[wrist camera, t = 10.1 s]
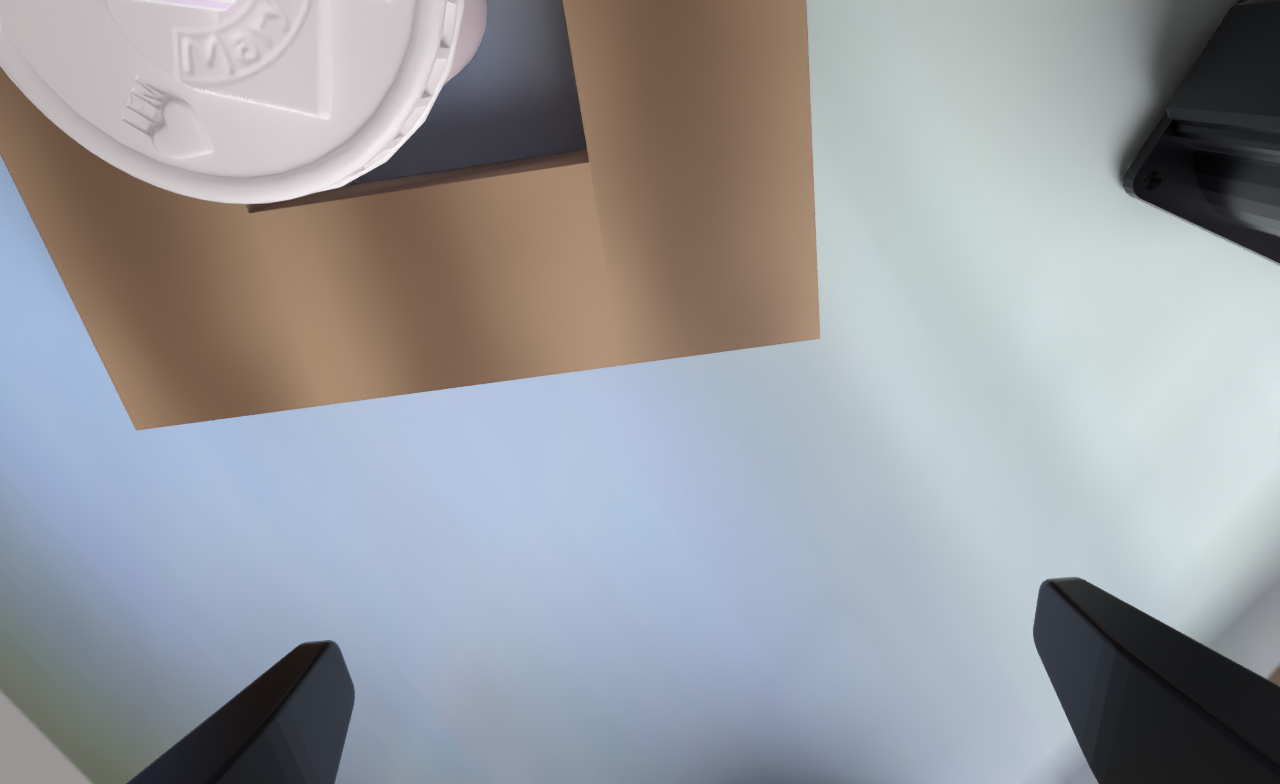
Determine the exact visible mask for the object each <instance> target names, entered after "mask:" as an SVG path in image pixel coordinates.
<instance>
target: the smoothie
mask: <svg viewBox="0 0 1280 784" xmlns="http://www.w3.org/2000/svg"><path fill="white" fill-rule="evenodd" d="M486 23H487V0H0V66H1V68H2V69H3V70H4V71H5V73H6V74H7V75H8V77H9V78H10V79H11V80H12V81H13V82H14V83H15V85H16V86H17V87H18V88H19V89H20V90H21V91H22V92H23V94H24V95H25V96H26V97H27V98H28V99H29V100H30V101H31V102H32V103H33V104H34V105H35V106H36V107H37V108H38V109H39V110H40V111H41V112H42V113H43V114H44V115H45V116H46V117H47V118H48V119H50V120H51V121H52V122H53V123H54V124H56V125H57V126H58V127H59V128H60V129H61V130H63V131H64V132H65V133H66V134H67V135H68V136H70V137H71V138H72V139H74V140H75V141H77V142H78V143H79V144H81V145H82V146H83V147H85V148H86V149H87V150H89V151H90V152H92V153H93V154H95V155H97V156H98V157H100V158H101V159H103V160H105V161H106V162H108V163H109V164H111V165H113V166H114V167H116V168H118V169H120V170H122V171H124V172H126V173H128V174H130V175H132V176H134V177H136V178H138V179H140V180H143V181H145V182H147V183H150V184H152V185H154V186H157V187H159V188H162V189H165V190H168V191H171V192H174V193H177V194H180V195H185V196H189V197H193V198H197V199H202V200H207V201H214V202H221V203H234V204H260V203H272V202H279V201H285V200H291V199H295V198H298V197H302V196H306V195H309V194H312V193H316V192H321V191H326V190H330V189H335V188H340V187H342V186H344V185H346V184H347V183H349V182H351V181H353V180H355V179H356V178H358V177H360V176H362V175H364V174H365V173H367V172H369V171H371V170H373V169H374V168H376V167H378V166H380V165H382V164H383V163H385V162H387V161H388V160H389V159H390V158H391V157H392V156H393V155H394V154H395V152H396V151H397V150H398V149H399V148H400V147H401V146H402V145H403V144H404V143H405V142H406V141H407V140H408V139H409V138H410V137H411V136H412V135H413V134H414V132H415V131H416V130H417V129H418V128H419V127H420V126H421V125H422V124H423V123H424V122H425V120H426V118H427V116H428V114H429V112H430V110H431V108H432V106H433V104H434V103H435V101H436V99H437V97H438V95H439V93H440V91H441V89H442V87H443V85H445V84H446V83H447V82H448V81H449V80H451V79H452V78H453V77H454V76H455V75H457V74H458V73H459V72H460V71H461V70H463V69H464V68H465V67H466V66H467V65H468V64H469V62H470V61H471V60H472V59H473V57H474V56H475V54H476V52H477V51H478V49H479V47H480V45H481V42H482V39H483V37H484V33H485V29H486Z"/></svg>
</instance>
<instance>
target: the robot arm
mask: <svg viewBox="0 0 1280 784" xmlns="http://www.w3.org/2000/svg"><path fill="white" fill-rule="evenodd" d="M1151 171H1152V175H1153V177H1152V180H1151V182H1150V183H1149V184H1148V185H1147V186H1146V187H1143V184H1142V181H1143V179H1144V177H1145V176H1146V175H1147V174H1148V173H1149V172H1151ZM1123 186H1124V189H1125V191H1126V193H1128V194H1129V195H1130V196H1132V197H1134V198H1136V199H1138V200H1140V201H1142V202H1145V203H1147V204H1149V205H1151V206H1153V207H1155V208H1157V209H1160V210H1162V211H1164V212H1166V213H1168V214H1170V215H1173V216H1175V217H1177V218H1179V219H1181V220H1183V221H1185V222H1188V223H1190V224H1192V225H1194V226H1196V227H1198V228H1201V229H1203V230H1205V231H1207V232H1209V233H1211V234H1213V235H1216V236H1218V237H1220V238H1222V239H1224V240H1226V241H1229V242H1231V243H1233V244H1235V245H1237V246H1239V247H1241V248H1244V249H1246V250H1248V251H1250V252H1252V253H1254V254H1257V255H1259V256H1261V257H1263V258H1265V259H1267V260H1270V261H1272V262H1274V263H1276V264H1278V265H1280V0H1240V1H1239V2H1238V4H1237V5H1235V6H1233V7H1232V8H1231V9H1230V11H1229V12H1228V14H1227V15H1226V17H1225V18H1224V20H1223V21H1222V23H1221V24H1220V26H1219V27H1218V29H1217V30H1216V32H1215V34H1214V35H1213V37H1212V38H1211V40H1210V41H1209V43H1208V44H1207V46H1206V47H1205V49H1204V50H1203V52H1202V53H1201V55H1200V56H1199V58H1198V59H1197V61H1196V62H1195V64H1194V66H1193V67H1192V69H1191V70H1190V72H1189V73H1188V75H1187V76H1186V78H1185V79H1184V81H1183V82H1182V84H1181V85H1180V87H1179V88H1178V90H1177V91H1176V93H1175V94H1174V96H1173V97H1172V99H1171V101H1170V102H1169V104H1168V109H1167V112H1166V113H1165V115H1164V116H1163V118H1162V119H1161V121H1160V122H1159V124H1158V125H1157V127H1156V128H1155V130H1154V131H1153V133H1152V134H1151V136H1150V137H1149V139H1148V140H1147V142H1146V143H1145V145H1144V146H1143V148H1142V149H1141V151H1140V153H1139V154H1138V156H1137V157H1136V159H1135V160H1134V162H1133V163H1132V165H1131V166H1130V168H1129V169H1128V171H1127V173H1126V175H1125V177H1124V185H1123ZM1033 637H1034V642H1035V646H1036V649H1037V651H1038V654H1039V656H1040V658H1041V660H1042V663H1043V665H1044V667H1045V669H1046V671H1047V674H1048V676H1049V678H1050V680H1051V683H1052V685H1053V687H1054V689H1055V692H1056V694H1057V696H1058V698H1059V701H1060V703H1061V705H1062V707H1063V710H1064V712H1065V714H1066V716H1067V718H1068V721H1069V723H1070V725H1071V727H1072V730H1073V732H1074V734H1075V736H1076V739H1077V741H1078V743H1079V745H1080V748H1081V750H1082V752H1083V754H1084V756H1085V758H1086V760H1087V762H1088V764H1089V766H1090V768H1091V770H1092V772H1093V774H1094V776H1095V778H1096V779H1097V781H1098V783H1099V784H1280V686H1278V685H1277V684H1275V683H1273V682H1271V681H1269V680H1267V679H1266V678H1264V677H1262V676H1260V675H1258V674H1256V673H1254V672H1253V671H1251V670H1249V669H1247V668H1245V667H1243V666H1242V665H1240V664H1238V663H1236V662H1234V661H1232V660H1231V659H1229V658H1227V657H1225V656H1223V655H1221V654H1220V653H1218V652H1216V651H1214V650H1212V649H1210V648H1209V647H1207V646H1205V645H1203V644H1201V643H1199V642H1198V641H1196V640H1194V639H1192V638H1190V637H1188V636H1187V635H1185V634H1183V633H1181V632H1179V631H1177V630H1176V629H1174V628H1172V627H1170V626H1168V625H1166V624H1164V623H1163V622H1161V621H1159V620H1157V619H1155V618H1153V617H1152V616H1150V615H1148V614H1146V613H1144V612H1142V611H1141V610H1139V609H1137V608H1135V607H1133V606H1131V605H1130V604H1128V603H1126V602H1124V601H1122V600H1120V599H1119V598H1117V597H1115V596H1113V595H1111V594H1109V593H1108V592H1106V591H1104V590H1102V589H1100V588H1098V587H1097V586H1095V585H1093V584H1091V583H1089V582H1087V581H1085V580H1083V579H1081V578H1078V577H1066V578H1054V579H1047V580H1045V581H1043V582H1042V584H1041V585H1040V589H1039V594H1038V600H1037V607H1036V613H1035V620H1034V626H1033ZM354 699H355V691H354V685H353V682H352V679H351V677H350V674H349V671H348V669H347V666H346V663H345V661H344V658H343V655H342V653H341V650H340V648H339V646H338V645H337V644H336V642H334V641H331V640H325V641H313V642H306V643H302V644H300V645H299V646H297V647H296V648H295V649H293V650H292V651H291V652H290V653H288V654H287V655H286V656H285V657H283V658H282V659H281V660H280V661H278V662H277V663H276V664H275V665H273V666H272V667H271V668H270V669H268V670H267V671H266V672H265V673H264V674H262V675H261V676H260V677H259V678H257V679H256V680H255V681H254V682H252V683H251V684H250V685H249V686H247V687H246V688H245V689H244V690H242V691H241V692H240V693H239V694H237V695H236V696H235V697H234V698H232V699H231V700H230V701H229V702H227V703H226V704H225V705H224V706H222V707H221V708H220V709H219V710H217V711H216V712H215V713H214V714H212V715H211V716H210V717H209V718H207V719H206V720H205V721H204V722H202V723H201V724H200V725H199V726H197V727H196V728H195V729H194V730H193V731H191V732H190V733H189V734H188V735H186V736H185V737H184V738H183V739H181V740H180V741H179V742H178V743H176V744H175V745H174V746H173V747H171V748H170V749H169V750H168V751H166V752H165V753H164V754H163V755H161V756H160V757H159V758H158V759H156V760H155V761H154V762H153V763H151V764H150V765H149V766H148V767H146V768H145V769H144V770H143V771H141V772H140V773H139V774H138V775H136V776H135V777H134V778H133V779H131V780H130V781H129V782H128V783H126V784H335V780H336V776H337V772H338V768H339V764H340V760H341V756H342V751H343V747H344V743H345V739H346V735H347V731H348V727H349V723H350V719H351V715H352V710H353V706H354Z"/></svg>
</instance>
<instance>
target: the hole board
mask: <svg viewBox="0 0 1280 784" xmlns="http://www.w3.org/2000/svg"><path fill="white" fill-rule="evenodd" d="M562 1H563V7H564V13H565V19H566V25H567V31H568V37H569V43H570V49H571V55H572V61H573V67H574V73H575V79H576V85H577V91H578V97H579V103H580V109H581V115H582V121H583V128H584V134H585V140H586V146H587V149H585V150H578V151H571V152H565V153H558V154H551V155H545V156H538V157H532V158H525V159H518V160H512V161H505V162H499V163H492V164H485V165H479V166H472V167H465V168H459V169H452V170H446V171H439V172H432V173H426V174H419V175H412V176H406V177H399V178H393V179H386V180H379V181H373V182H366V183H359V184H353V185H346V186H342V187H340V188H335V189H330V190H326V191H321V192H316V193H312V194H309V195H306V196H302V197H298V198H295V199H291V200H285V201H279V202H272V203H260V204H234V203H221V202H214V201H207V200H202V199H197V198H193V197H189V196H185V195H180V194H177V193H174V192H171V191H168V190H165V189H162V188H159V187H157V186H154V185H152V184H150V183H147V182H145V181H143V180H140V179H138V178H136V177H134V176H132V175H130V174H128V173H126V172H124V171H122V170H120V169H118V168H116V167H114V166H113V165H111V164H109V163H108V162H106V161H105V160H103V159H101V158H100V157H98V156H97V155H95V154H93V153H92V152H90V151H89V150H87V149H86V148H85V147H83V146H82V145H81V144H79V143H78V142H77V141H75V140H74V139H72V138H71V137H70V136H68V135H67V134H66V133H65V132H64V131H63V130H61V129H60V128H59V127H58V126H57V125H56V124H54V123H53V122H52V121H51V120H50V119H48V118H47V117H46V116H45V115H44V114H43V113H42V112H41V111H40V110H39V109H38V108H37V107H36V106H35V105H34V104H33V103H32V102H31V101H30V100H29V99H28V98H27V97H26V96H25V95H24V94H23V92H22V91H21V90H20V89H19V88H18V87H17V86H16V85H15V83H14V82H13V81H12V80H11V79H10V78H9V77H8V75H7V74H6V73H5V71H4V70H3V69H2V68H1V66H0V154H1V156H2V158H3V161H4V163H5V165H6V167H7V169H8V171H9V173H10V175H11V177H12V179H13V181H14V183H15V185H16V187H17V189H18V191H19V193H20V195H21V197H22V199H23V201H24V203H25V205H26V207H27V209H28V211H29V213H30V215H31V218H32V220H33V222H34V224H35V226H36V228H37V230H38V232H39V234H40V236H41V238H42V240H43V242H44V244H45V246H46V248H47V250H48V252H49V254H50V256H51V258H52V260H53V262H54V264H55V266H56V268H57V270H58V272H59V274H60V277H61V279H62V281H63V283H64V285H65V287H66V289H67V291H68V293H69V295H70V297H71V299H72V301H73V303H74V305H75V307H76V309H77V311H78V313H79V315H80V317H81V319H82V321H83V323H84V325H85V327H86V329H87V331H88V334H89V336H90V338H91V340H92V342H93V344H94V346H95V348H96V350H97V352H98V354H99V356H100V358H101V360H102V362H103V364H104V366H105V368H106V370H107V372H108V374H109V376H110V378H111V380H112V382H113V384H114V386H115V388H116V390H117V393H118V395H119V397H120V399H121V401H122V403H123V405H124V407H125V409H126V411H127V413H128V415H129V417H130V419H131V421H132V423H133V425H134V427H135V429H136V430H143V429H150V428H158V427H165V426H173V425H180V424H188V423H195V422H203V421H210V420H217V419H225V418H232V417H240V416H247V415H255V414H262V413H270V412H277V411H284V410H292V409H299V408H307V407H314V406H322V405H329V404H337V403H344V402H351V401H359V400H366V399H374V398H381V397H389V396H396V395H404V394H411V393H419V392H426V391H433V390H441V389H448V388H456V387H463V386H471V385H478V384H486V383H493V382H500V381H508V380H515V379H523V378H530V377H538V376H545V375H553V374H560V373H567V372H575V371H582V370H590V369H597V368H605V367H612V366H620V365H627V364H635V363H642V362H649V361H657V360H664V359H672V358H679V357H687V356H694V355H702V354H709V353H716V352H724V351H731V350H739V349H746V348H754V347H761V346H769V345H776V344H783V343H791V342H798V341H806V340H813V339H820V326H819V301H818V276H817V252H816V227H815V203H814V178H813V154H812V129H811V104H810V80H809V55H808V31H807V6H806V0H562Z"/></svg>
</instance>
